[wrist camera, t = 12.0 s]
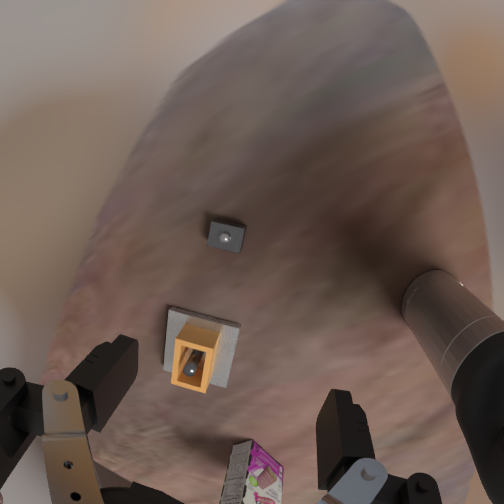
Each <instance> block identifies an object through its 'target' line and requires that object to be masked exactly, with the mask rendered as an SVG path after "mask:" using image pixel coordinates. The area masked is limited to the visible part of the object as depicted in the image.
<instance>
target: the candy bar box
mask: <svg viewBox="0 0 504 504" xmlns="http://www.w3.org/2000/svg"><path fill="white" fill-rule="evenodd" d="M283 470H284V467H282V466H281V465H280V464H279V463H278V462H277V461H276V460H274V459H273V458H272V457H271V456H270V455H269V454H268V453H267V452H266V451H264V450H263V449H262V448H261V447H260V446H259V445H258V444H257V443H256V442H255V441H254V440H248V441H246V442H243V443H239V444H236V445H233V446H232V450H231V454H230V459H229V464H228V468H227V472H226V477H225V481H224V485H223V490H222V494H221V498H220V503H219V504H281V499H282V485H283Z"/></svg>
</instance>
